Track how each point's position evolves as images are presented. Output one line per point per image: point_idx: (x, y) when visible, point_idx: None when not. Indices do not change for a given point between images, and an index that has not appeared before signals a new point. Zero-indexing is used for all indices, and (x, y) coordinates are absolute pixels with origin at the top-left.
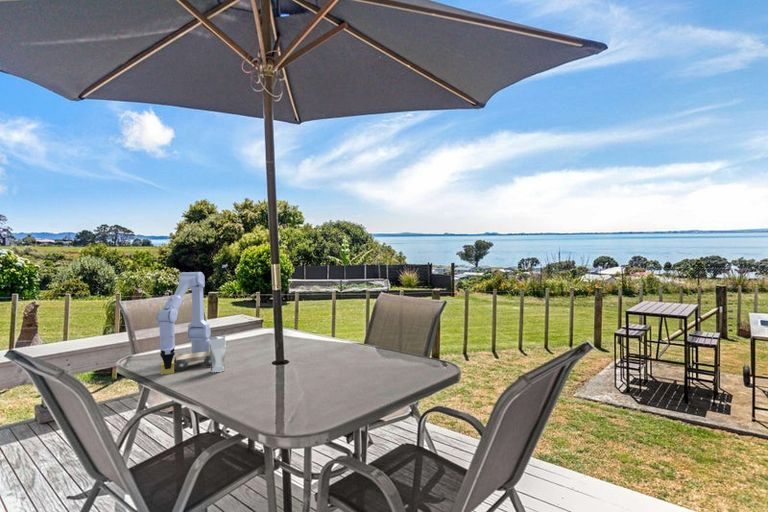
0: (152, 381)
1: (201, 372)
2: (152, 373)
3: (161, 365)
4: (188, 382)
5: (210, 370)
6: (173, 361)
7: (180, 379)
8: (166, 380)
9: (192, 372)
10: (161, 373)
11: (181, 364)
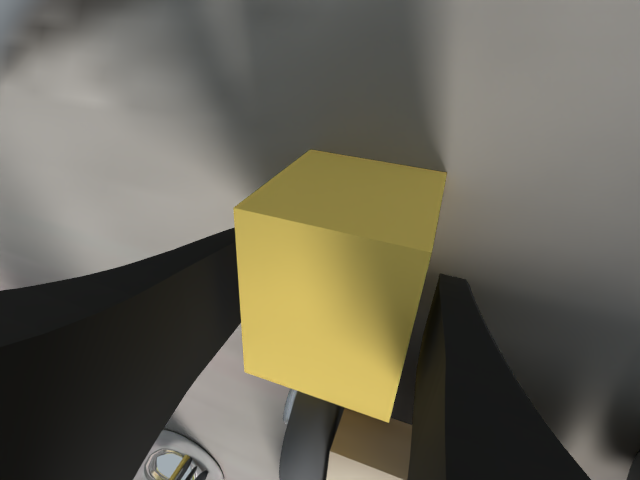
0: (71, 13)
1: (200, 408)
2: (510, 37)
3: (239, 211)
4: (3, 269)
5: (173, 445)
6: (356, 408)
7: (75, 255)
8: (74, 158)
9: (232, 379)
10: (300, 160)
11: (285, 410)
